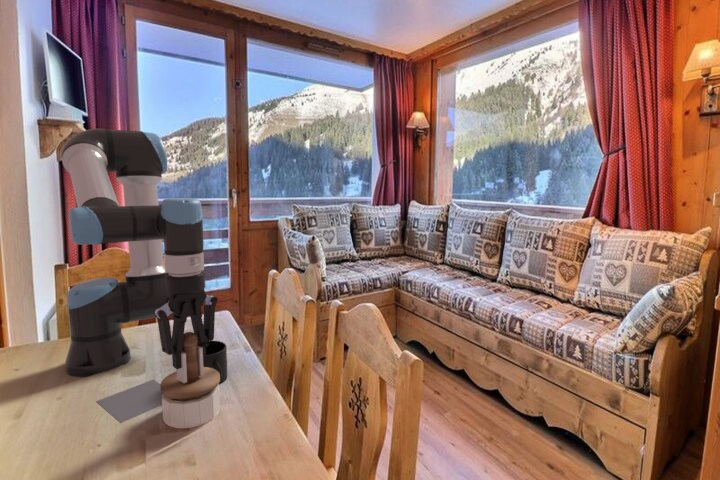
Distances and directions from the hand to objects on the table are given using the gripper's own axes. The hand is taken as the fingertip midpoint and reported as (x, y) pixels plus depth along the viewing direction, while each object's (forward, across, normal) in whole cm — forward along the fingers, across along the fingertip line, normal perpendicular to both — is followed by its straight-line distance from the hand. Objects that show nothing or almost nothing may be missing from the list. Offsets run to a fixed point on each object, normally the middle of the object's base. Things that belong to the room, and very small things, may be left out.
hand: (190, 377), depth 87 cm
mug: (+9, +10, +9) cm, 17 cm away
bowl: (+9, 0, 0) cm, 9 cm away
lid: (+2, 0, 0) cm, 2 cm away
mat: (+9, -5, +14) cm, 18 cm away
